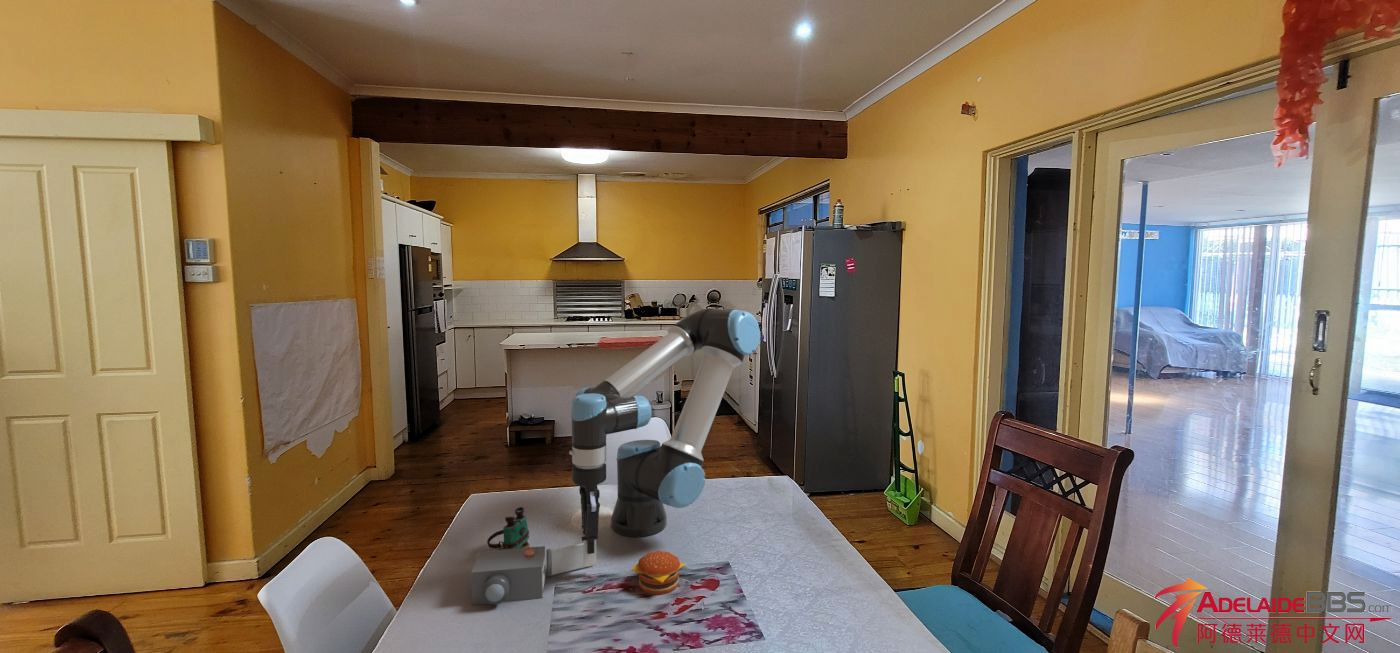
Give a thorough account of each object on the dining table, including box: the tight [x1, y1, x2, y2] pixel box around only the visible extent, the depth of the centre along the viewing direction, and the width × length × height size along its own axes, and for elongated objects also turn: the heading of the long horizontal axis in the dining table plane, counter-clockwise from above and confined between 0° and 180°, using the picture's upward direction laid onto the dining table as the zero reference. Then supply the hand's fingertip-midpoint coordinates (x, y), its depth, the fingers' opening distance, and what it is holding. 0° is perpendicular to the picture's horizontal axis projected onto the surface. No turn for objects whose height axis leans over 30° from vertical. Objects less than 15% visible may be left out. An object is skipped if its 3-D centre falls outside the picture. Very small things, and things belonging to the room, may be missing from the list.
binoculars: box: [486, 506, 531, 550], centre depth 137 cm, size 9×11×10 cm
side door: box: [545, 542, 585, 577], centre depth 129 cm, size 1×11×6 cm, turn 118°
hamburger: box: [630, 550, 687, 595], centre depth 124 cm, size 9×10×7 cm
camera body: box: [470, 545, 547, 605], centre depth 120 cm, size 14×12×8 cm
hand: (589, 564), depth 128 cm, fingers closed
